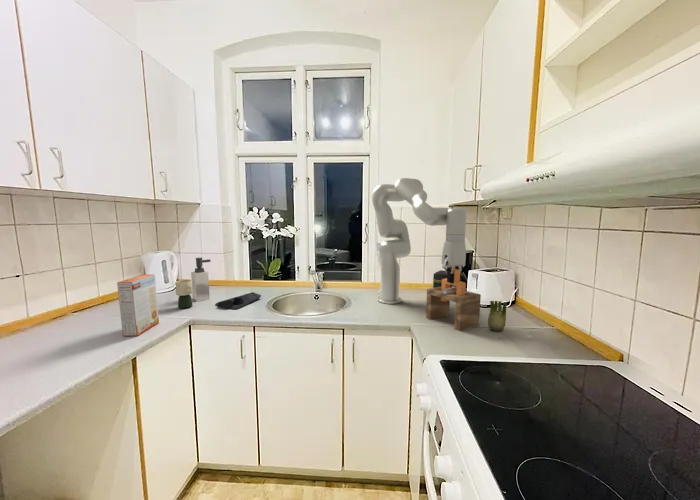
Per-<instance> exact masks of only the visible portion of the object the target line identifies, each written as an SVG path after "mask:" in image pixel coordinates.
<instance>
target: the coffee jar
mask: <svg viewBox="0 0 700 500" xmlns="http://www.w3.org/2000/svg"><path fill="white" fill-rule="evenodd" d="M446 278H447V273H446V270H442V269H441V270H438V271H436V272H434V273H433V278H432V288H435V287H441V286H442V279H446ZM450 287H452V285H450ZM449 309H450V306H449Z"/></svg>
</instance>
